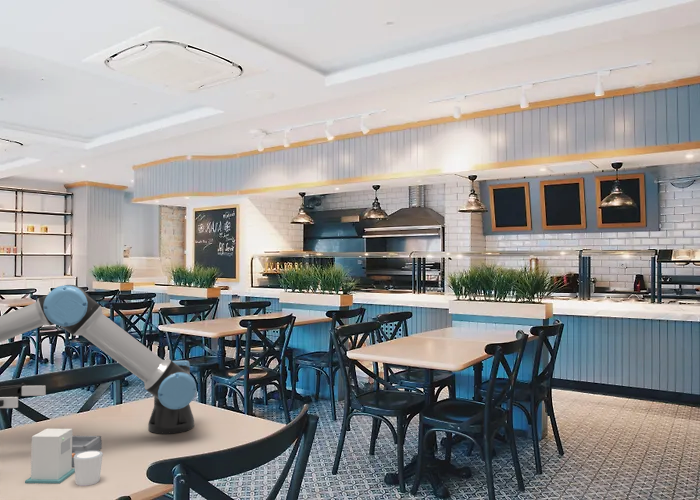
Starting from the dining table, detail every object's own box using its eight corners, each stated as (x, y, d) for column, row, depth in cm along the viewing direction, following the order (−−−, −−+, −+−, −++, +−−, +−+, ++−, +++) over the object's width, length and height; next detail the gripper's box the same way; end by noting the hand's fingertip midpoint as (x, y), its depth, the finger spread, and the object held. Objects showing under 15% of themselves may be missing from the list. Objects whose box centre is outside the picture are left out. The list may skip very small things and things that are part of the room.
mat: (77, 470, 151) (77, 468, 151) (59, 483, 142) (59, 481, 142) (44, 470, 151) (44, 468, 151) (25, 483, 142) (25, 480, 142)
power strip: (112, 439, 177) (113, 428, 178) (75, 467, 153) (75, 453, 153) (80, 439, 178) (80, 428, 178) (38, 466, 153) (38, 453, 154)
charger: (73, 469, 150) (74, 428, 150) (59, 479, 143) (60, 436, 143) (45, 469, 150) (46, 428, 150) (30, 479, 143) (31, 436, 143)
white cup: (79, 476, 146) (80, 450, 147) (106, 476, 147) (106, 449, 147) (68, 487, 140) (69, 459, 140) (96, 486, 140) (97, 458, 140)
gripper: (-16, 399, 166) (55, 398, 166) (-80, 424, 141) (4, 422, 141) (-16, 374, 166) (55, 373, 166) (-80, 394, 141) (4, 393, 141)
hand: (31, 396), depth 154 cm, fingers open, 13 cm apart
